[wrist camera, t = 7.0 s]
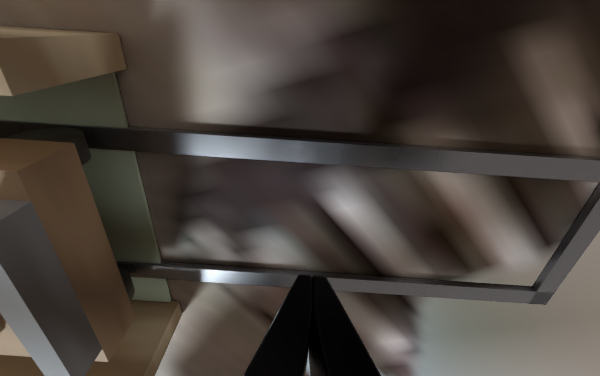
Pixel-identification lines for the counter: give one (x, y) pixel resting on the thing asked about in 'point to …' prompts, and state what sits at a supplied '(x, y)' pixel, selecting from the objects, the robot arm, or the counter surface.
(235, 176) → the counter surface
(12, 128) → the rails
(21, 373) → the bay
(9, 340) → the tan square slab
